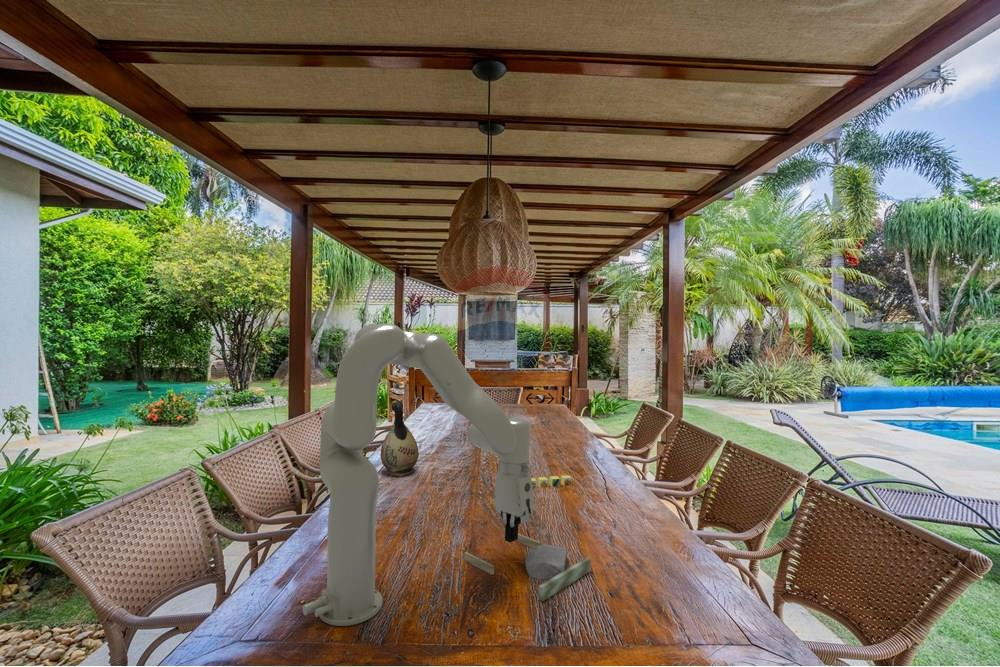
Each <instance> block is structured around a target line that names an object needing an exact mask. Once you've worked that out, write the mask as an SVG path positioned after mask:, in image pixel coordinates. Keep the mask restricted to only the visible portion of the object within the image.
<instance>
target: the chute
mask: <svg viewBox="0 0 1000 667" xmlns="http://www.w3.org/2000/svg"><path fill="white" fill-rule="evenodd" d="M514 542H517V543H520V544H522V545H524V546H527V547H529V548H530V549H531V548H533V547H536V546H541V545H542V542H540V541H539V540H536V539H533V538H531V537H528V536H526V535H523V534H521V533H519V532H518V539H517V540H515V541H514ZM463 554H464V556H463V561H464V562H466V563H468V564H470V565H472V566H474V567H476V568H478V569H479V570H481V571H483V572H485V573H487V574H489V575H490V576H493V575H494V574H495V565H493V564H492V563H489V562H488V561H486V560H484V559H481V557H478V556H475V555H474V554H473V553H470V552H467V551H465V552H463ZM590 572H591V558H590V557H585V558H583V559H582V560H580V561H579V562H577V563H575V564H574V565H572V566H570V567H568V568H566V569H565V571H563V572H562V573H560V574H558V575H556V576H555V577H553V578H551V579H547V581H544V583H541V584H540V585H539V586H538V601H541V602H544V601H546V600H547V599H549V598H551V597H552V596H554V595H556V594H557V593H559V592H560V591H562V590H563V589H565V588H566V587H568V586H569V585H571V584H572V583H574V582H576V581H578V580H579V579H581V577H584V576H586V574H589V573H590Z"/></svg>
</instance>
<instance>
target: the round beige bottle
mask: <svg viewBox="0 0 1000 667" xmlns="http://www.w3.org/2000/svg"><path fill="white" fill-rule="evenodd" d="M403 408H404V404H403V402H400V401H396V402H394V403H392V405H391V410H392V412H393V411H394V420H393V424H392V426H391V427H390V429H389V430H388V432H387V434H386V435H385V437H384V439H383V441H382V444H381V448H380V455H379V456H380V461H381V464H382V465H383V466H384V467H385V469H386V470H387V471H388V473H389V475H390V476H396V477H402V476H406V475H409V474H412V472H413V468H414V467H415V466H416V464H417V462H418V460H419V453H420V452H419V446H418V443H417V440H416V439H415V436H414V435H413V434H412V432H411V430H409V427H408V426H407V425H406V424H405V421H404V412H403V411H404V410H403Z"/></svg>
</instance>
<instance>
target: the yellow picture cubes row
mask: <svg viewBox="0 0 1000 667" xmlns="http://www.w3.org/2000/svg"><path fill="white" fill-rule="evenodd" d="M531 479H532V486H533V489H537V486H538V487H539V488H540V489H543V488H544V489H545V488H549V486H551V488H555V487H561V485H562V486H564V487H566V486H573V485H572V484H573V477H572V476H570V475H569V474H568V475H560V477H559V476H557V475H554V476H553V475H552V476H549V477H548V478H547V477H546V476H540V477H537V478H535V477H531Z"/></svg>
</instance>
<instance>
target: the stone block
mask: <svg viewBox="0 0 1000 667" xmlns="http://www.w3.org/2000/svg"><path fill="white" fill-rule="evenodd" d="M526 556H527V557H525V558H526V559H525V560H524V561H525V562H524V563H525V570H526V573H527V575H528V576H529V577H530V578H532V579H537V580H550V579H551V578H553V577H555V576H556V575H558V574H560V573H562V572H563V571H565V570H566V564H567V556H568V553H567V547H560V546H555V545H551V544H541V546H536V547H533V548H531V547H530V551H529V552H528V554H527V555H526Z"/></svg>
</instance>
